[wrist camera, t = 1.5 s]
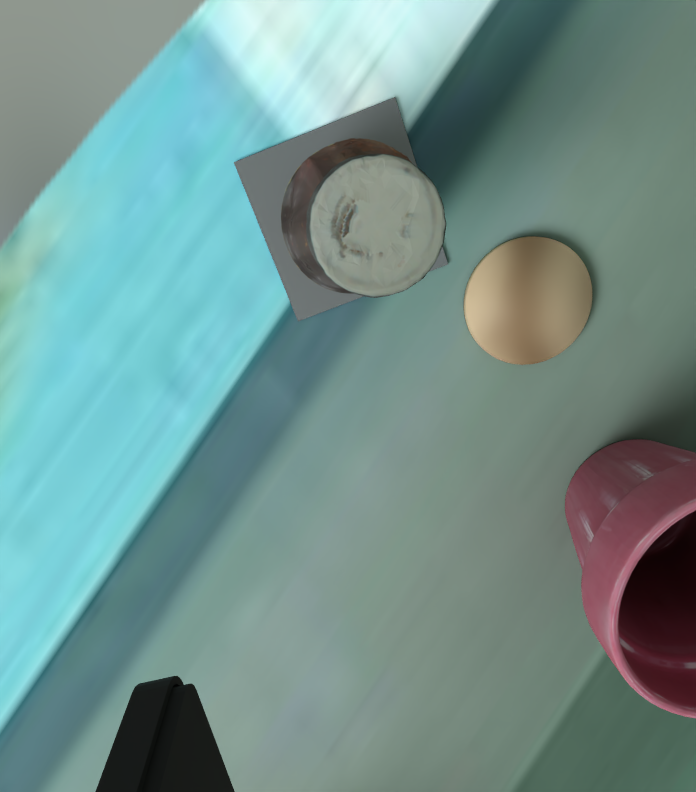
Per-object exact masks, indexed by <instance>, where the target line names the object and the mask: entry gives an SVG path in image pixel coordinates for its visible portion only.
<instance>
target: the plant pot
mask: <svg viewBox="0 0 696 792" xmlns="http://www.w3.org/2000/svg"><path fill="white" fill-rule="evenodd" d="M565 513H566V518H567V522H568V525H569V528H570V531H571V535H572V539H573V542H574V546H575V549H576V552H577V555H578V558H579V561H580V564H581V567H582V570H583V571H582V582H581V589H582V600H583V606H584V610H585V613H586V616H587V619H588V621H589V624H590V626H591V628H592V630H593V632H594V633H595V635H596V637H597V639H598V640H599V642H600V644H601V645H602V647H603V648H604V650H605V651H606V653H607V654H608V656H609V658H610V659H611V661H612V662H613V663H614V665H615V666H616V668H617V669H618V670H619V672H620V673H621V675H622V676H623V677H624V679H625V680H626V681H627V682H628V684H629V685H630V686H631V687H632V688H633V689H634V690H635V691H636V692H638V693H639V694H640V695H641V696H642V697H644V698H645V699H646V700H648V701H649V702H651V703H652V704H654V705H656V706H658V707H660V708H662V709H664V710H667V711H669V712H672V713H675V714H678V715H682V716H686V717H691V718H696V453H695V452H691V451H688V450H684V449H680V448H677V447H673V446H669V445H666V444H662V443H659V442H655V441H650V440H643V439H632V440H624V441H620V442H617V443H614V444H611V445H609V446H606V447H604V448H602V449H601V450H599V451H597V452H596V453H594V454H593V455H592V456H590V457H589V458H588V459H587V460H586V461H585V462H584V463H583V464H582V465H581V466H580V467H579V469H578V470H577V471H576V473H575V474H574V476H573V478H572V480H571V482H570V484H569V487H568V489H567V493H566V498H565Z"/></svg>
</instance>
